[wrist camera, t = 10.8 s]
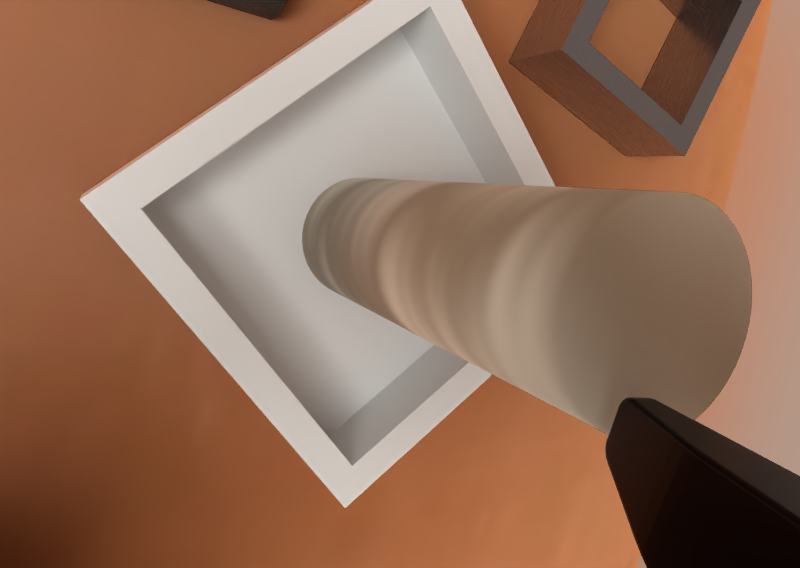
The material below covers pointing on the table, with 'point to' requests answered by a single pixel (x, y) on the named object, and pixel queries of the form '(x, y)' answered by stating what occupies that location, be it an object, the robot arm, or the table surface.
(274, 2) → the hardcover book
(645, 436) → the robot arm
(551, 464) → the table surface
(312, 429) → the tray
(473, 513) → the table surface
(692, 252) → the dowel
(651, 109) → the collar
